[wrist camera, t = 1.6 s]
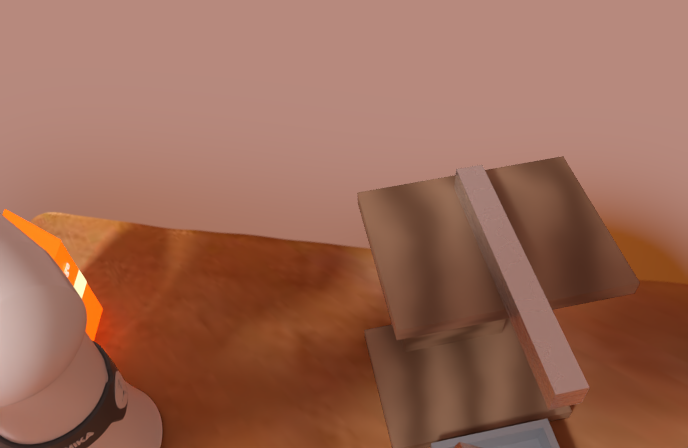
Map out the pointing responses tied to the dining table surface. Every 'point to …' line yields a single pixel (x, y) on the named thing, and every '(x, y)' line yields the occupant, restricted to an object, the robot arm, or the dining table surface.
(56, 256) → the orange juice
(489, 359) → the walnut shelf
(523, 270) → the bar
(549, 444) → the blue-gray tray
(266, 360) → the dining table surface
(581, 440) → the dining table surface
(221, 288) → the dining table surface
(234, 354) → the dining table surface
